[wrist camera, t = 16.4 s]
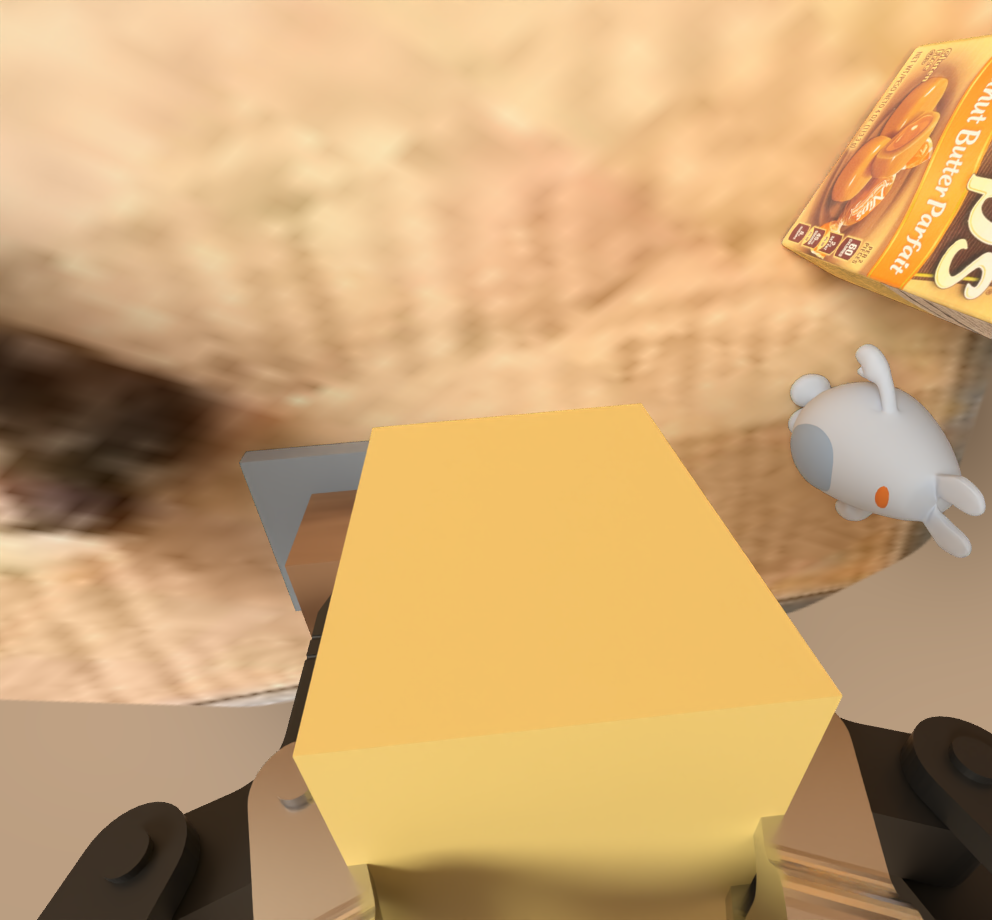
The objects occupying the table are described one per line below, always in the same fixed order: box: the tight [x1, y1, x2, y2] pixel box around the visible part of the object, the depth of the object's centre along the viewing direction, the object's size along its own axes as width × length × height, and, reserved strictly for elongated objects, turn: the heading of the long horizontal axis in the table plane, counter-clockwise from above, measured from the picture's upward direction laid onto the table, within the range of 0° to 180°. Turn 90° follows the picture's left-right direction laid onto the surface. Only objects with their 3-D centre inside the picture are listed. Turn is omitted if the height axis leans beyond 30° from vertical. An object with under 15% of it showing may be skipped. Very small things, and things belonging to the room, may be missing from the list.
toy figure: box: [788, 344, 986, 558], centre depth 26 cm, size 11×6×12 cm, turn 14°
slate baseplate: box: [239, 441, 369, 611], centre depth 33 cm, size 12×12×1 cm
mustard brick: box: [292, 403, 842, 920], centre depth 9 cm, size 7×5×6 cm
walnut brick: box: [285, 490, 357, 637], centre depth 30 cm, size 7×5×6 cm
